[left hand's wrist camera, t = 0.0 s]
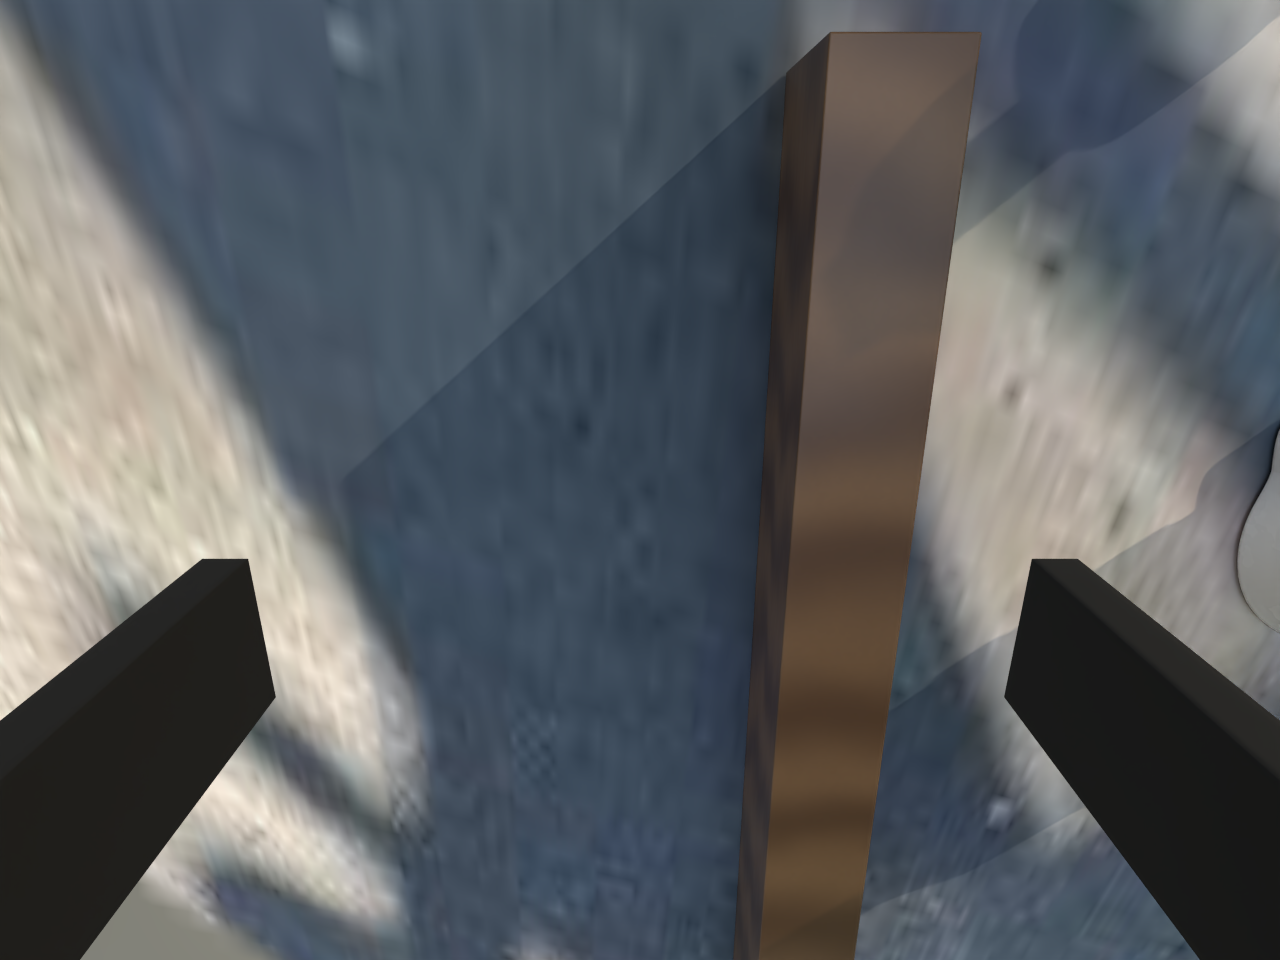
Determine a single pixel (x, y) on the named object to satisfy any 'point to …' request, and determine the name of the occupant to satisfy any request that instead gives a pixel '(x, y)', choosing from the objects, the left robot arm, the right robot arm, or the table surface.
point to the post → (843, 462)
